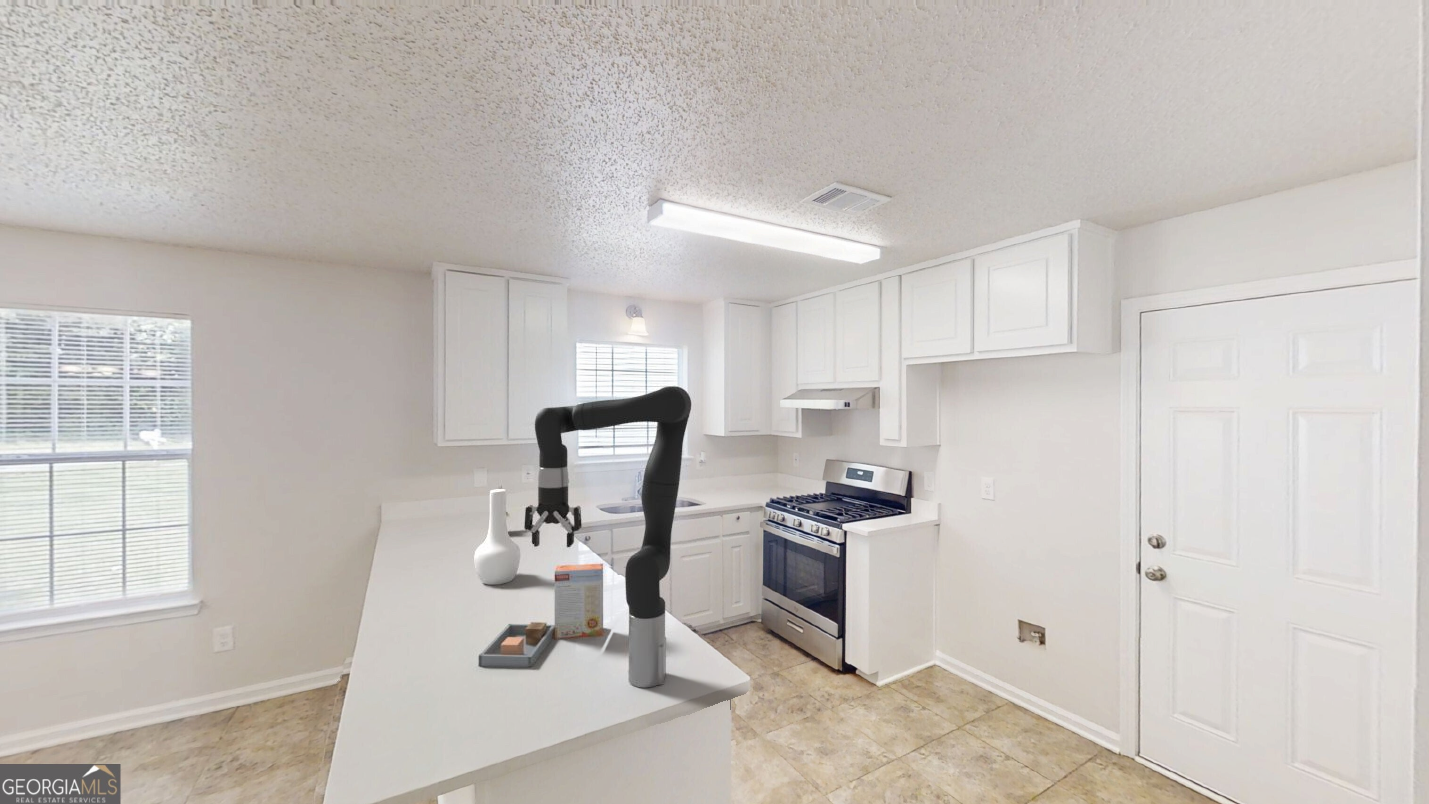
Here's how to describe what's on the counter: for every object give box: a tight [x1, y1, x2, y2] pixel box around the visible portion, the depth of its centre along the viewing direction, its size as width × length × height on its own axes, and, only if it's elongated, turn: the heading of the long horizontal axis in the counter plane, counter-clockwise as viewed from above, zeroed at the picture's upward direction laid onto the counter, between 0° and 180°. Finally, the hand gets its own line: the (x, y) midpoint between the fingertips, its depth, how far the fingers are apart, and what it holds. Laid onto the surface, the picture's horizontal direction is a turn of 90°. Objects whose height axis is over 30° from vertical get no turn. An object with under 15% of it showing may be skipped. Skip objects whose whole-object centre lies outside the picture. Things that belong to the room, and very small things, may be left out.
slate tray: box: [478, 623, 555, 668], centre depth 154 cm, size 14×20×4 cm
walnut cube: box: [526, 621, 547, 645], centre depth 158 cm, size 4×4×4 cm
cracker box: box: [554, 563, 604, 639], centre depth 164 cm, size 14×6×21 cm, turn 99°
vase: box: [473, 488, 521, 586], centre depth 212 cm, size 17×17×35 cm
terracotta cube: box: [501, 637, 524, 655], centre depth 149 cm, size 4×4×4 cm
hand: (553, 546), depth 142 cm, fingers open, 8 cm apart
